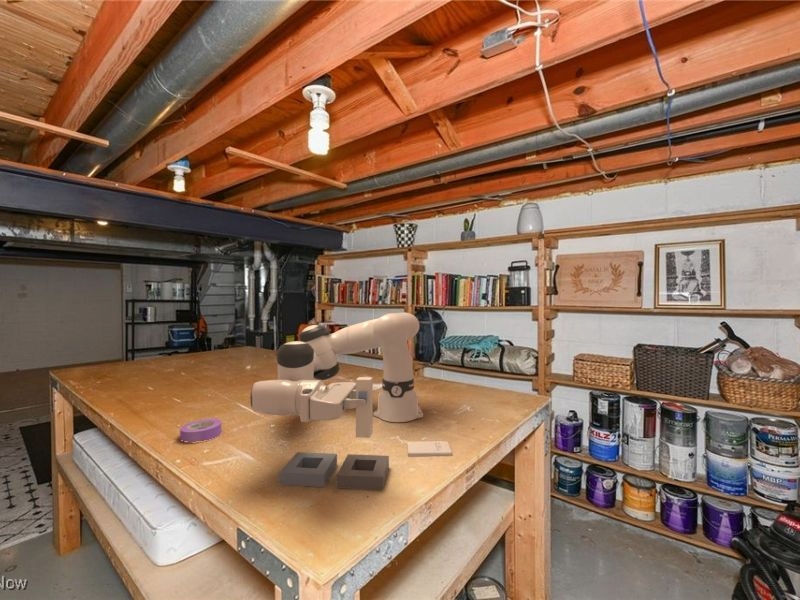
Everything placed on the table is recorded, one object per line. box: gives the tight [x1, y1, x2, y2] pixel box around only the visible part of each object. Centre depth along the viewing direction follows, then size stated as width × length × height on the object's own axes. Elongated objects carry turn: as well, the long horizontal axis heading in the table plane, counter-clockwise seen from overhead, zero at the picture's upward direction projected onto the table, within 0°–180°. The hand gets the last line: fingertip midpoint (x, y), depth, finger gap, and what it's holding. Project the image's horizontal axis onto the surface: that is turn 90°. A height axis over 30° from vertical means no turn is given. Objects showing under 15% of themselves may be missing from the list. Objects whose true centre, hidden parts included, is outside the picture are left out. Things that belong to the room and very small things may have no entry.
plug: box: [355, 376, 374, 439], centre depth 87 cm, size 4×4×14 cm
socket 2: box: [336, 453, 390, 491], centre depth 87 cm, size 11×11×3 cm
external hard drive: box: [406, 440, 453, 457], centre depth 103 cm, size 2×8×12 cm
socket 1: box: [278, 451, 338, 488], centre depth 89 cm, size 11×11×3 cm
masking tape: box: [179, 418, 223, 442], centre depth 114 cm, size 12×12×4 cm
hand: (367, 399), depth 87 cm, fingers closed on plug, 4 cm apart
